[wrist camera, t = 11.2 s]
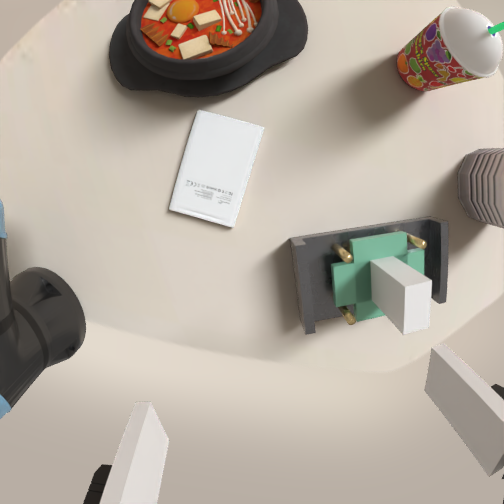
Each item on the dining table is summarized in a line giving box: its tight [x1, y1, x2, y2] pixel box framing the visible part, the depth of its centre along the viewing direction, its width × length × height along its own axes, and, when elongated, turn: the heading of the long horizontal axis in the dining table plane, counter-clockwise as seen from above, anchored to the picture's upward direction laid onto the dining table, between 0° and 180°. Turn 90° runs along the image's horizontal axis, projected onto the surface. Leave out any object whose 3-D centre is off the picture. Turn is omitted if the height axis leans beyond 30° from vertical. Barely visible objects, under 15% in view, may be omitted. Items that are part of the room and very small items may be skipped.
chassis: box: [290, 216, 448, 334], centre depth 36 cm, size 20×11×6 cm, turn 99°
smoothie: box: [397, 6, 504, 91], centre depth 23 cm, size 8×8×20 cm
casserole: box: [109, 0, 308, 97], centre depth 28 cm, size 25×19×8 cm
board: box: [331, 231, 432, 335], centre depth 31 cm, size 12×10×10 cm
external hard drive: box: [169, 110, 264, 228], centre depth 36 cm, size 2×8×12 cm
